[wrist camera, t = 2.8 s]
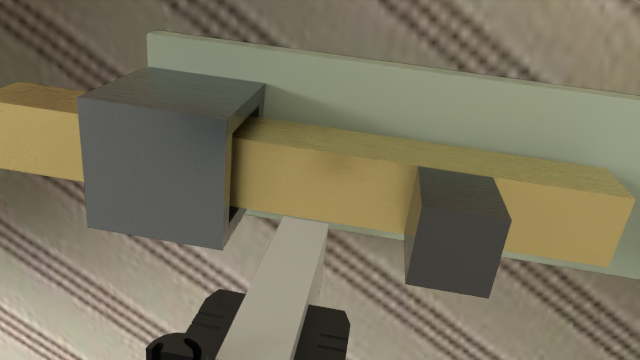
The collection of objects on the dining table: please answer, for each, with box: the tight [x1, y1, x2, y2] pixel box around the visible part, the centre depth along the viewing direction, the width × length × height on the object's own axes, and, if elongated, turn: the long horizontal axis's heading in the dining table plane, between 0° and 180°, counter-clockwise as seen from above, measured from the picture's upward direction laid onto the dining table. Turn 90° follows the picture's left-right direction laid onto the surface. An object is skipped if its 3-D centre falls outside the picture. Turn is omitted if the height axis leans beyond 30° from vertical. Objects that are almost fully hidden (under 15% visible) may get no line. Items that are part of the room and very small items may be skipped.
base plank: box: [147, 30, 640, 279], centre depth 26 cm, size 33×9×1 cm, turn 84°
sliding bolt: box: [0, 82, 636, 298], centre depth 22 cm, size 28×3×7 cm, turn 84°
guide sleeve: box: [76, 66, 265, 250], centre depth 24 cm, size 6×6×6 cm
